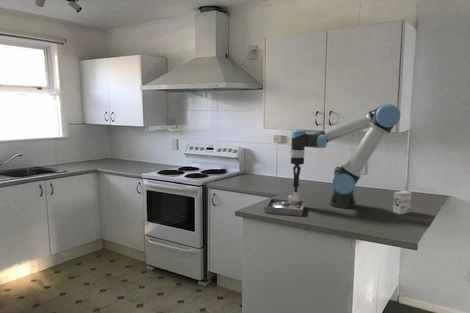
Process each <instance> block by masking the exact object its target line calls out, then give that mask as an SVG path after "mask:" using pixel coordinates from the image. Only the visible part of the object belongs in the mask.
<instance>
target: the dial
mask: <svg viewBox="0 0 470 313" xmlns="http://www.w3.org/2000/svg"><path fill="white" fill-rule="evenodd" d="M299 197H300V194H299V193H298V194H295V195H293V194H289V195H288V200H289V201H288V202H286V201H283V202H275V203H272V207H279V208H291V209H293V208H297V209H298V208H299V205H298V203H299V201H300V198H299Z"/></svg>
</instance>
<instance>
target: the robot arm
mask: <svg viewBox="0 0 470 313" xmlns="http://www.w3.org/2000/svg"><path fill="white" fill-rule="evenodd" d="M400 119H401V112H400V110H399V108H398V107H397V106H395V105H394V104H391V103H385V104H382V105H380V106H378V107H376V108H374V109H373V110H371V111H367V113H366V114H365V115H362V116H359V117H357V118H354V119H351V120H348V121H345V122H343V123H339V124H337V125H335V126H332V127H329V128H327V129H324V130H322V131H319V132H315V133H313V134H312V133H306V130H303V129H293V130H292V133H291V146H290V147H291V148H290V149H291V150H290V151H289V153H291V154H290V156H291V157H290V164H292V165H294V166H293V167H292V168H293V169H292V170H293V185H292V187H293V193H292V195H295V194H299V187H300V186H301V184H300V175H301V170H302V169H301V168H302V167H301V165H304V163H305V158H304V157H305V152H306V150H305V148H313V149H314V148H315V149H316V148H318V149H326V148H327V144H328V143H330V142H333V141H335V140H338V139H342V138H345V137H347V136H351V135H354V134H355V133H358V132H359V133H360V132H361V131H364V130H367V131H366V133H365V134H364V136H363V137H362V139H361V140H360V141H359V144H358V145H357V146H356V148H355V149H354V151H353V152H352V153H351V156H350V158H349V159H348V161H347V162H346V164H342V165H341V166H335V167H334V170H333V171H334V176H333V179H332V187H333V189H332V194H331V197H330V198H329V205H330V206H332V207H334V208H339V209H353V208H356V207H357V203H356V202H357V201H356V197H355V193H354V192H355V188H356V185H357V183H358V181H359V180H360V178H361V177H362V176H361V172H362V170H363V169H364V167H365V166H366V164H367V162H368V161H369V159H370V158H371V156H372V155H373V153H374V152H375V150H376V149H377V147H379V144H380V143H381V142H382V139H383V138H384V137H385V136H386V135H389V134H390V132H392V130H393V128H394V127H395V126H396V125H397V124H398V123H399V122H400Z"/></svg>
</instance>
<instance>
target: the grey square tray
mask: <svg viewBox="0 0 470 313" xmlns="http://www.w3.org/2000/svg"><path fill="white" fill-rule="evenodd" d="M283 201H286V202H288V201H289V199H285V198H283V199H282V198H273V197H271V198H270V197H269V199H268V201H267V202H266V205H265V206H264V213H265V214H272V215H284V216H295V217H297V216H298V217H302V216H303V212H304V209H305V200H299V203H298V205H299V208H298V209H297V208H293V209H291V208H279V207H272V203H275V202H283Z"/></svg>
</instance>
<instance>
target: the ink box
mask: <svg viewBox="0 0 470 313" xmlns="http://www.w3.org/2000/svg"><path fill="white" fill-rule="evenodd" d="M412 196H413V193H412V192H411V191H405V190H402V191H394V195H393V208H392V213H394V214H398V215H403V214H410V213H411V206H412Z"/></svg>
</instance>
